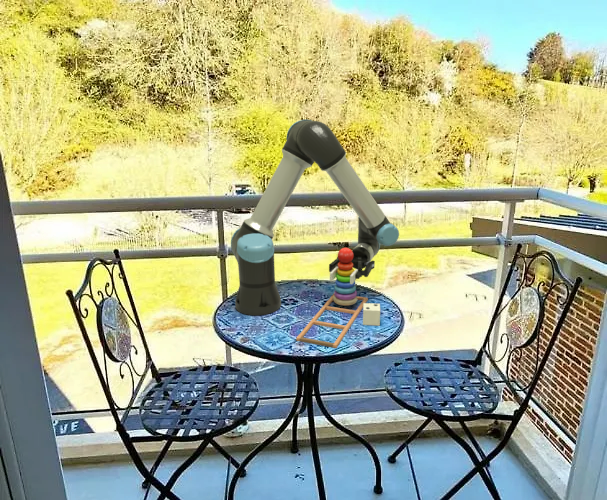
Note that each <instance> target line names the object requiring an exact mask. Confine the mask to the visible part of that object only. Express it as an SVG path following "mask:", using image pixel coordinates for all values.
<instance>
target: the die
mask: <svg viewBox="0 0 607 500" xmlns="http://www.w3.org/2000/svg"><path fill="white" fill-rule="evenodd" d="M362 309H363V310H362V311H363V312H362V325H363V326H381V325H380V324H381V323H380V322H381V303H372V302H371V303H370V302H369V303H368V302H366V303H364V304H363V308H362Z"/></svg>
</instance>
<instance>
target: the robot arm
mask: <svg viewBox="0 0 607 500" xmlns="http://www.w3.org/2000/svg"><path fill="white" fill-rule="evenodd" d="M281 152H282V158H281V160H280V162H279V164H278V165H277V168H276V169H275V171H274V173H273V175H272V177H271V179H270V180H269V183H268V185H267V186H266V188H265V190H264V192H263V194H262V195H261V197H260V199H259V201H258V203H257V205H256V206H255V209H254V211H253V213H252V214H251V216H250V217H249V218H246V219H244V220H243V222H242V224H241V225H240V227H239V228H238V229H236V230H235V231H234V233H233V234H232V236H231V241H230V249H231V251H232V254H233V256H234V258H235V259H236V262H237V266H238V268H237V269H238V278H239V281H238V282H239V286H238V290H237V293H236V297H235V310H237V311H238V313H241V314H244V315H248V316H261V315H269V314H272V313H274V312H276V311H277V310H279V309H280V308H281V307H282V298H281V295H280V293H279V290H278V288H277V284H276V279H275V278H276V276H275V275H276V273H275V270H276V269H275V246H274V241H273V238H274V236H275V235H274V231H273V229H274V227H275V225H276V224H277V222H278V220H279V218H280V216H281V215H282V212H283V211H284V209H285V207H286V205H287V203H288V202H289V200H290V197H291V196H292V194H293V192H294V191H295V189H296V187H297V185H298V183H299V182H300V179H301V178H302V175H303V174H304V172H305V171H306V169H308V168H312V166H313V165H314V164H316V165H317V167H318V168H319V169H320V170H321V171H322V172H326V173H327V175H328V176H329V177H330V179H331V181H332V182H333V183H334V184H335V186H336V187H337V189H338V190H339V191H340V193H341V195H343V197H344V198H345V200H346V201H347V202H348V204H349V206H351V208H352V209H353V211H354V212H355V213H356V215H357V216H358V217H357V219H358V230H357V232H358V233H357V234H358V235H357V244H356V246H355V247H353V248H352V249H351V250H352V252H353V255H354V256H353V259H352V261H351V262H352V263H353V269H354V272H353V273H352V274H351V275H350V284H353V283H354V281H355V282H356V280H359V279H360V278H362V277H363V276H364V277H365V278H368V276H369V275H370V274H371V272H372V270H373V269H375V264H376V263H375V260H373V258H374V257H376V255H377V254H378V252H379V251H380V248H381V245H383V246H387V247H389V246H393V245H394V244H395V243H397V242H398V240H399V236H400V232H399V229H398V228H397V227H396V225H394V224H393V223H391V222H390V220H389V219H388V217H387V216H386V214H385V213H384V212H383V210H382V209H381V207H380V206H379V205H378V203H377V201H376V200H375V199H374V197H373V195H372V194H371V193H370V191H369V189H368V188H367V187H366V185H365V184H364V182H363V180H362V179H361V178H360V177H359V175H358V174H357V172H356V171H355V169H354V168H353V166H352V164H351V163H350V162H349V160H348V158H347V156H346V155H347V152H346V150H345V149H344V147H343V146H342V143H340V141H339V139H338V138H337V136H336V135H335V133H334V132H333V130H332V129H331V128H330V127H329V125H327V124H326V123H324V122H322V121H317V120H312V119H300V120H298V121H296V122H294V123H292V125H291V126H290V127H289V129H288V130H287V133H286V141H285V142H284V144H283V147H282V149H281ZM339 262H340V261H339V259H338V256H336V258H335V259H334V260H333V261H332V262H331V263H330V264H329V265H328V272H329V282H333V281H334V280H335V279H337V278H336V275H337V274H338V273H337V270H338V263H339Z"/></svg>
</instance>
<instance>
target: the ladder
mask: <svg viewBox="0 0 607 500" xmlns="http://www.w3.org/2000/svg"><path fill="white" fill-rule="evenodd" d="M333 297H334V293H333V294H332V295H331V296H330V298H329V299H328V300H327V301H326V302H325V303H324V305H322V307H321V308H320V310H319V311H318V312H317V313H316V314H315V315H314V316H313V317H312V319H311V320H310V321H309V322H308V323H307V325H306V326H305V327H304V328H303V330H302V331H301V332H300V333H299V334H298V335H297V336H296V338H295V341H298V342H302V343H308V344H312V345H318V346H323V347H329V348H333V349H337V348H338V346H339V344H341V342H342V340H343V339H344V337H345V335H346V334H347V333H348V331H349V330H350V328H351V327H352V326H353V324H354V322H355V320H356V319H357V317H358V316H359V315H360V313H361V311H363V310H362V309H363V304H364V303H368V300H369V298H368V297H365V296H357V301H361V302H360V304H359V305H358V307H357V309H356V310H354V309H348V308H342V307H341V308H340V307H334V306H330V305H331V304H332V302H334V300H333ZM326 310H327V311H333V312H339V313H344V314H352V316H351V318H350V319H349V320H348V322H347V323H346V325H343V324H338V323H337V324H336V323H332V322H325V321H320V320H318V319H319V318H320V317H321V315H322V314H323V313H324V312H325V311H326ZM313 325H317V326H321V327H327V328H333V329H339V330H342V331H340V332H341V333H339V336H338V337H337V338H336V340H335V341H334V342H329V341H324V340H319V339H313V338H309V337H308V338H307V337H305V335H306V334H307V333H308V331H309V330H310V329H311V328H312V326H313Z"/></svg>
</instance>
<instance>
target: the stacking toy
mask: <svg viewBox="0 0 607 500" xmlns="http://www.w3.org/2000/svg"><path fill="white" fill-rule="evenodd" d="M352 250H353V249H350V248H349V247H342V248H341V249H340V250H338V252H337V257H338V259H339V261H340V262H339V263H338V270H337V273H338V274H337V275H336V278H335V279H336V280H335V282H334V283H335V285H334V292H333V294H334V297H333V302H334V303H335V304H337V305H340V306H352V305H354V304H356V303H357V302H358V300H357V295H358V292H357V290H356V289H357V286H356V280H355V281H354V283H353V284H350V275H351V274H352V273H353V272H354V271H355V268H353V263H352V262H351V261H352V259H353V256H354V255H353V252H352Z"/></svg>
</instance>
